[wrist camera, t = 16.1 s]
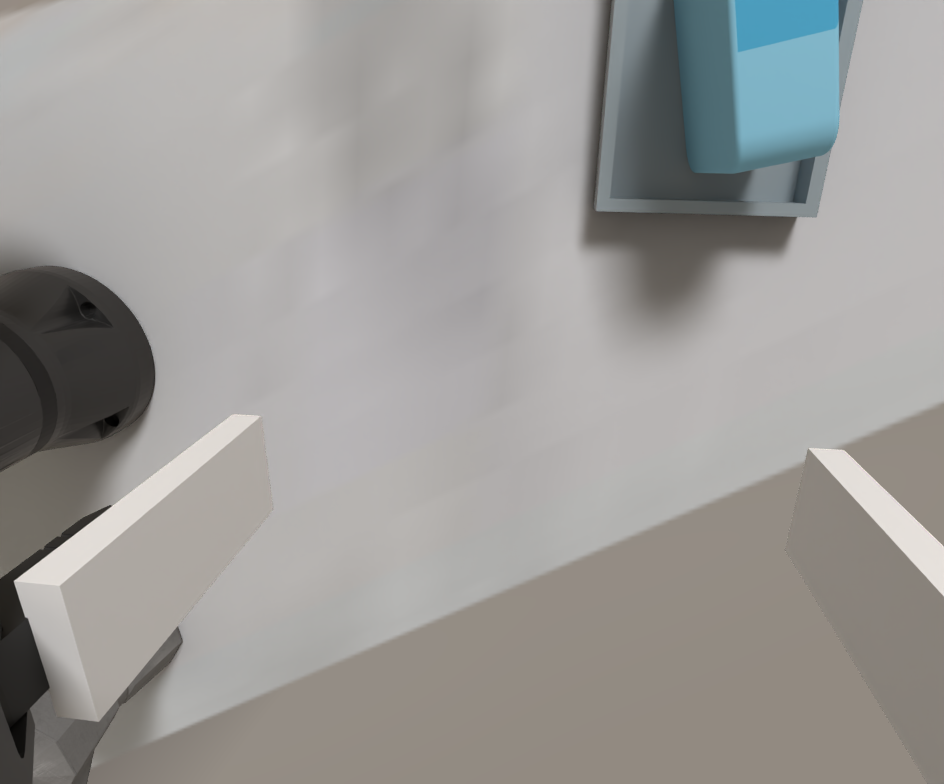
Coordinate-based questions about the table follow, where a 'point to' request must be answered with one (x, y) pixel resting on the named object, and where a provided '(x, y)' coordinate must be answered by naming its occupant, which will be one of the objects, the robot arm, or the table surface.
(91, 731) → the coffeepot
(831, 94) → the data package
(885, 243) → the table surface
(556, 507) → the table surface
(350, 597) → the table surface
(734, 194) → the tray
